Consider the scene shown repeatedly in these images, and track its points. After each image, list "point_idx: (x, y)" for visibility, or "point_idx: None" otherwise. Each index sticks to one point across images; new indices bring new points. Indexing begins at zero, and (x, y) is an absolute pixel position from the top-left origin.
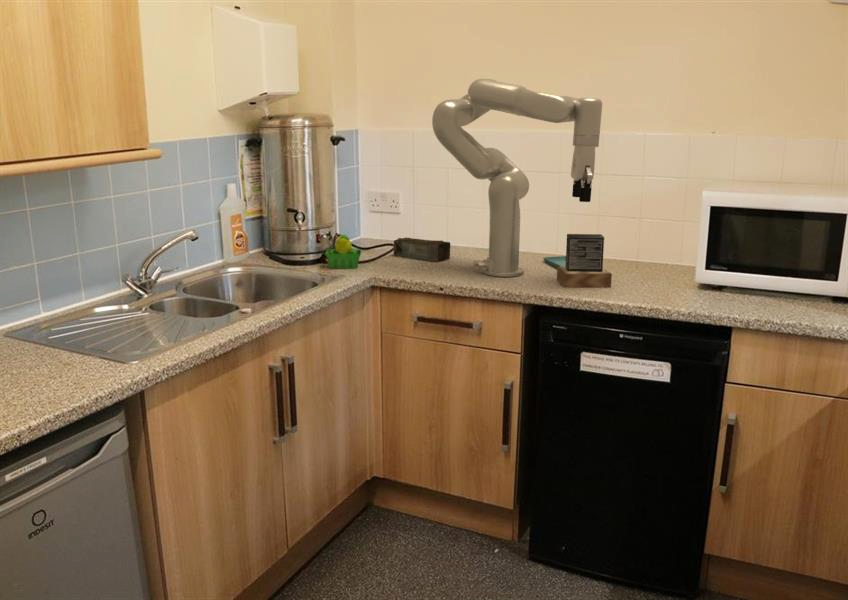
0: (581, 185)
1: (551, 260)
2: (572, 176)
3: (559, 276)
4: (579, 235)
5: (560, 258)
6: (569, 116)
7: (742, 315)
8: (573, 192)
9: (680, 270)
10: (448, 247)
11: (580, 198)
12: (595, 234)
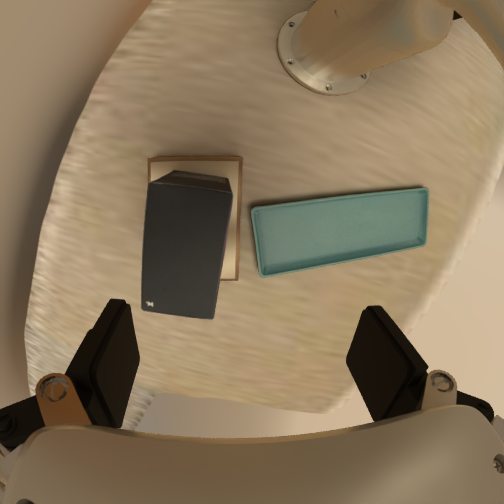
0: (72, 397)
1: (420, 206)
2: (377, 441)
3: (211, 156)
4: (172, 232)
5: (422, 228)
6: None
7: (38, 372)
8: (378, 326)
9: (294, 404)
10: (454, 10)
11: (104, 313)
12: (206, 300)
